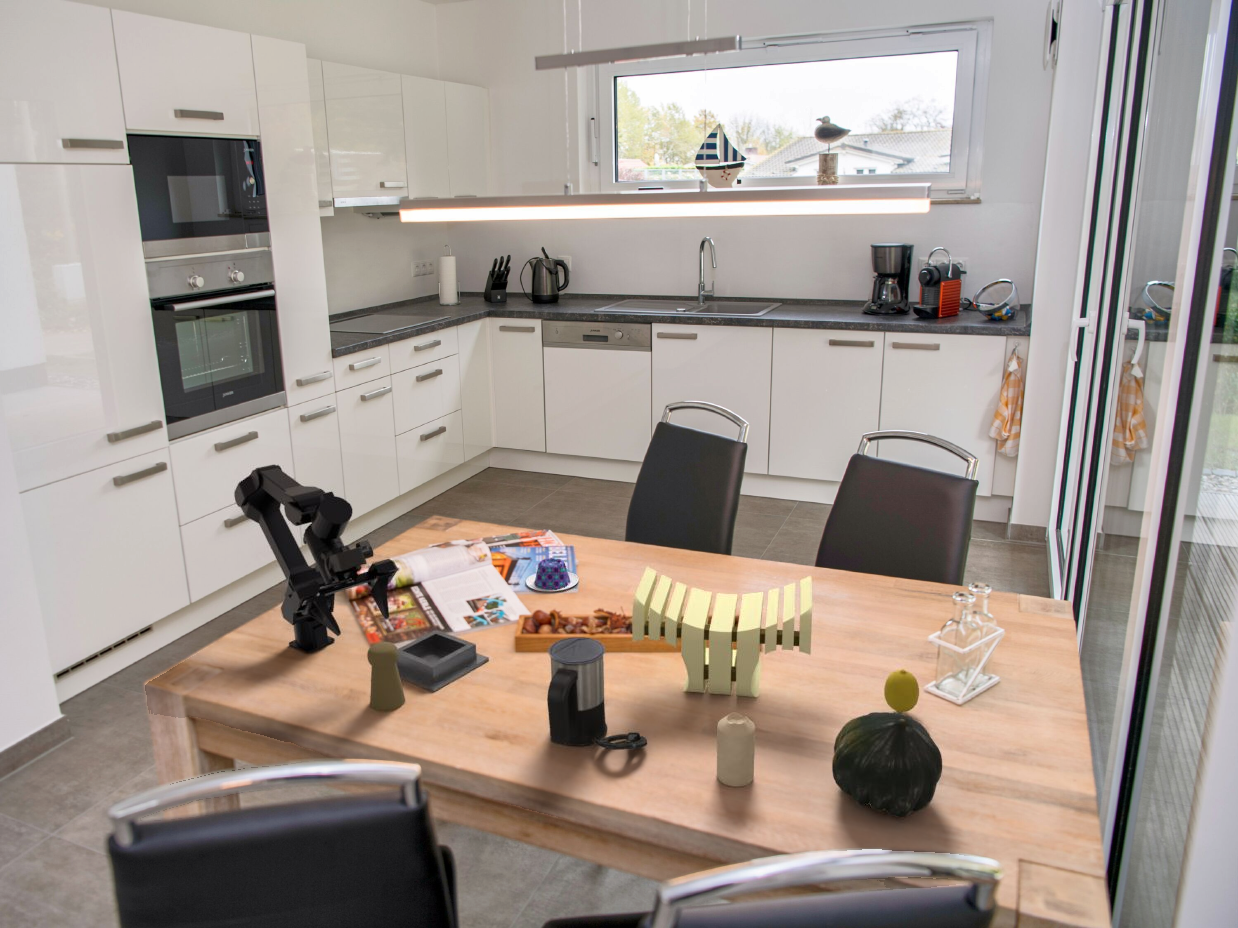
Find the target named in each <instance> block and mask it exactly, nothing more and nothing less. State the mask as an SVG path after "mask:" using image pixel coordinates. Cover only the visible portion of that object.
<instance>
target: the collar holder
mask: <svg viewBox="0 0 1238 928" xmlns="http://www.w3.org/2000/svg"><path fill="white" fill-rule="evenodd" d="M476 645H477V644H476V643H473V642H471V641H468V640H464V639H462V638H460V637H457V636H454V635H452V634H450V633H446V632H443V631H441V630H438V629H435V630H432V631H431V632H429V633H426V634H425V635H423V636H420V637H419V638H417V639H415V640H413V641H411V642H408V643H407V644H404V645H403V646H400V647H399V648H397V649H398V659H397V661H396V664H397V668H398V672H399V676H400V679H402V680H405V681H407V682H409V683H412V684H414V685H416V686H419V687H421V688H423V689H425V690H428V691H430V692H433V693H435V692H436V691H438V690H440V689H441V688H443V687H445V686H447V685H449V684H450V683H451V682H454V681H456V680H458V679H459V678H461V677H462V676H464V675H466V674H467V673H469V672H471V671H473V670H474V669H476V668H478V667H480V666H482V665H484V664H485V663H488V662H489V661H490V658H489V656H486V655H483V654H481V653H478V652H477V646H476Z"/></svg>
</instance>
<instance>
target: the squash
mask: <svg viewBox="0 0 1238 928" xmlns="http://www.w3.org/2000/svg"><path fill="white" fill-rule="evenodd" d="M833 745H834V747H833V757H832V762H831V764H832V765H831V772H832V777H833V780H834V781H835V784H836V785H837V787H838V788H839V789H840V790H841V791H842V793H844V794H845V795H847V796H850V797H852V800H853V801H854V802H855V803H856V804H858V805H859V806H863V807H864V806H868V805H870V806H871V809H873V810H874V811H877V812H879V811H882V812H883V811H884V810H885V811H886V813H888V814H890V815H891V816H894V817H896V818H900V819H901V818H904V817H906V816H909V814H910V813H911V812H918V811H921V810H922V809H924V808H925V807H927V806H928V805H929V804H930V803H931V802H932V801H933V798H934V795H935V793H936V790H937V789H936V788H937V786H938V785H937V784H938V783H939V781H940V779H941V777H942V773H943V758H942V753H941V750H940V749H939V748H940V747H938V745H937V744H936V743H935V741H934V740H933V738H932V737H931V734H930V733H929V731H928V730H927V729H926V728H925V726H924V725H923V724H922V723H921V722H920V721H918V720H916V719H915V718H912V717H911V716H908V715H906V714H903V713H898V712H887V711H885V712H884V711H881V712H876V711H874V712H869V713H868V714H864V715H862V716H858V717H856V718H852V719H851V720H848V722H847V723H845V724H844V725H843V726H842V728H841V730H840V731H839V732H838V734H837V736H836V738H835V741H834V744H833Z"/></svg>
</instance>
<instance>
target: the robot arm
mask: <svg viewBox="0 0 1238 928" xmlns="http://www.w3.org/2000/svg"><path fill="white" fill-rule="evenodd" d="M233 493H234V495H233V496H234V500H235V503H236V505H237V506H238V507H239V508H240V510H241V511H242V513H243V514H244V516H245V517H246V518H248V519H249V520H251V521H254V522H255V523H256V524H259V527H260V528H261V531H262V533H263V535H264V536H265V539H266V541H267V544H269V547H270V549H271V551H272V553H273V555H274V557H275V559H276V561H277V563H278V564H279V567H280V569H281V571H282V573H283V575H284V578H285V579H286V586H285V590H284V591H285V592H284V600H283V602H282V604H281V606H280V610H281V616H282V618H283V619H284V620H285V621H286V622H287V623H289V624H290V625H292V626H293V632H294V638H295V639H293V640H292V641H289V642H288V645H289V647H292V648H294V649H296V650H299V651H301V652H303V653H305V654H310V653H313V652H315V651H316V650H319V649H322V648H323V647H326V646H327V645H330V644H332V643H334V642H335V638H334V637H333V636H330V635H328V630H329V631H331V633H333V634H335V636H337V637H339V636H341V635H342V632H341V629H340V627H339V625H338V623H337V621H336V619H335V617H334V615H333V613H334V611H335V609H334V608H335V596H336V593H339V592H342V591H345V590H348V589H352V588H355V587H358V586H361V585H365V584H367V585H368V586H369V587H371V589H370V591H369V592H370V595H371V596H372V598H373V600H374V602H375V604H376V606H377V608H378V610H379V612H380V614H381V615H382V617H383V618H384V619H385V620H388V619H389V617H390V612H389V611H390V610H389V600H388V598H389V597H388V585H389V584H390V583H391V582H392V580H393V578H394V577H395V576H396V574H397V572H398V570H399V569H398V566H397V564H396V563H395V561H394V560H392V559H390V558H385V559H383V560H380V561H376V562H373V563H371V565H370V566H369V568H368V569H367V571H365V572H362V573H359V574H358V572H360V571H361V570H362V568H363V567H362V566H364V565H366V564H367V563H368V562H367V559H369V558H372V557H374V554H375V553H374V550H373V547H372V545H371V543H370V541H369V539H365V540H362V541H358V542H357V543H355V548H350V546H349V545H348V544H347V545H346V544H344V542H343V540H342V538H341V536H342V535H343V534H344V532H345V530H346V528H347V527H348V524H349V523H350V521H351V518H352V517H353V507H352V505H351V503H349V502H348V500H346V499H344V498H343V497H340V496H337V495H336V496H335V494H334V491H332V490H331V491H328V492H325V490H324V489H322V488H319V487H317V486H305V485H302V484H300V483H299V482H298V481H297V480H295V479H294V478H292V476H290V475H289V474H287V473H286V472H285V471H283V470H282V468H281V466H280V465H279V464H270V465H265V466H261V467H256V468H255V469H253V470H252V471H251V472H250V474H249V475H247V476H246V477H245V478H243V480H240V481H239V482H238V483H237V486H236V487H235V490H234V492H233ZM281 505H283V508H284V514H285V517H286V518H287V520H288V521H289V522H290V523H291V524H292V525H293V526H296V527H299V526H303V525H307V524H309V525H308V526H307V527H306V528H305V529H304V533H303V538H302V541H303V544H304V545H307V547H308V549H309V551H310V553H311V556H312V558H313V560H314V562H315V566H314V567H311V566H309V564H308V562H307V560H306V558H305V556H304V554H303V552H302V550H301V548H300V547H299V544H298V543H297V540H296V537H294V535H293V533H292V530H291V529H290V527H289V524H288V523H287V521H286V519H285V517H284V515H283V513H282V511H281Z"/></svg>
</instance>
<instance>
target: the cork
mask: <svg viewBox="0 0 1238 928" xmlns="http://www.w3.org/2000/svg"><path fill="white" fill-rule="evenodd" d="M398 649H399V648H398V646H397V645H395V644H394V643H393V642H390V641H380V642H377V643H375V644H372V645H371V646H370V647H369V649H368V651H367V653H366V654H367V655H366V656H367V661H368V664H370V666H371V675H370V676H371V678H370V695H369V699H370V700H369V707H370V708H371V710H373V711H375V712H380V713H382V712H383V713H386V712H387V713H388V712H392V711H396V710H397V709H400V708H401V707H402V706H404V705H405V703H406V697H405V692H404V689H403V684H402V680H401V678H400V676H399V672H398V668H397V664H396V661H397V659H398Z"/></svg>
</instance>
